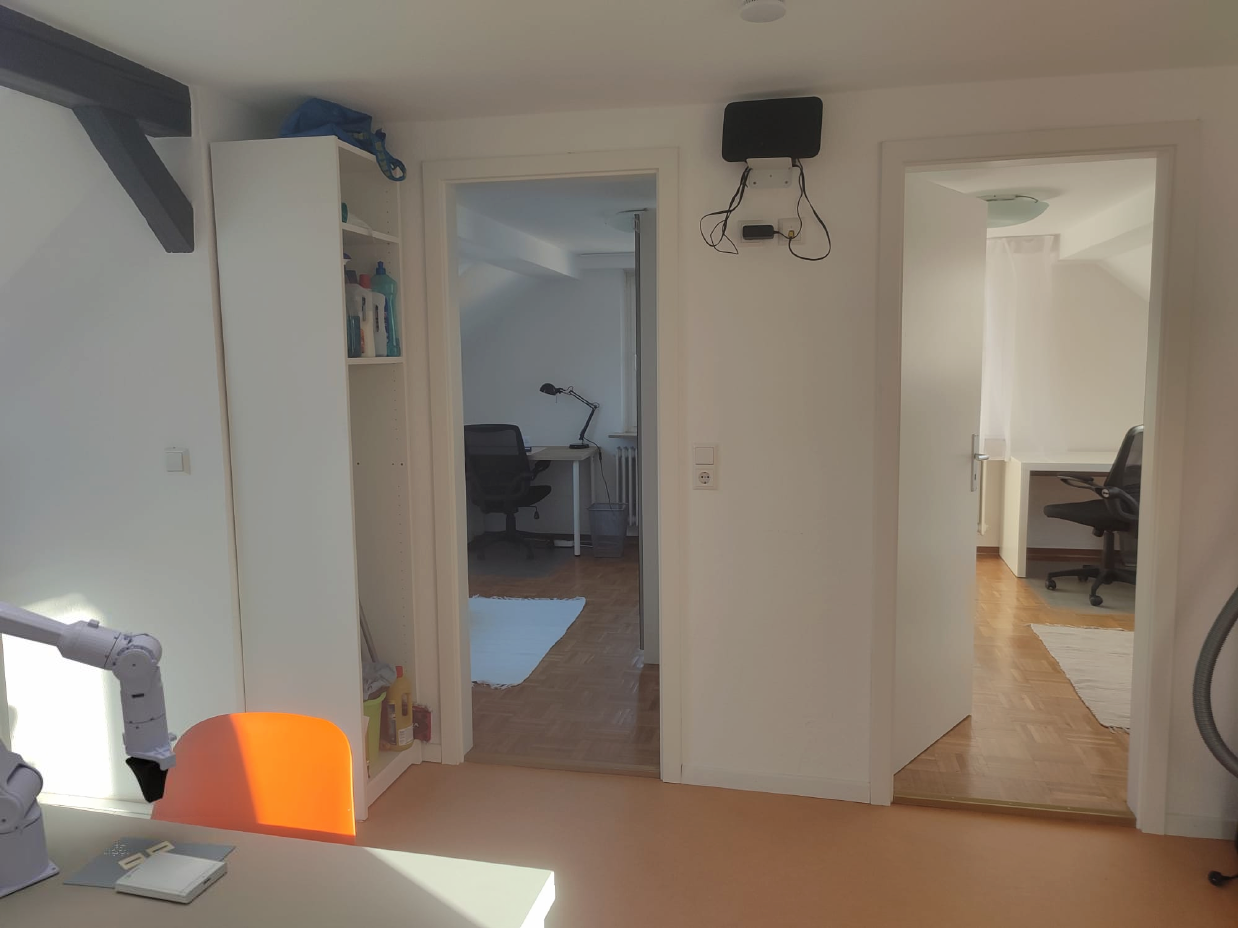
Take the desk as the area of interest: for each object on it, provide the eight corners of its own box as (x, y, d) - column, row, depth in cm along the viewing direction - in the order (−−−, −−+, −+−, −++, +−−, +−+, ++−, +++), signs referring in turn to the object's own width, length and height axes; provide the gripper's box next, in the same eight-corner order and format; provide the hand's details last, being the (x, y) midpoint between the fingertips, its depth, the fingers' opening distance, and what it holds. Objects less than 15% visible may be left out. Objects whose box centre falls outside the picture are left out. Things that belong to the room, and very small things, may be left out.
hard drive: (114, 881, 126) (185, 893, 123) (158, 849, 134) (226, 860, 130) (115, 892, 126) (186, 904, 123) (159, 859, 134) (227, 870, 131)
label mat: (63, 883, 129) (63, 882, 129) (122, 837, 141) (122, 836, 141) (185, 894, 125) (185, 893, 125) (235, 846, 137) (235, 845, 137)
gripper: (192, 718, 132) (201, 802, 134) (152, 695, 141) (161, 775, 143) (143, 735, 127) (153, 822, 129) (104, 710, 136) (114, 792, 138)
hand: (154, 799), depth 136 cm, fingers closed
